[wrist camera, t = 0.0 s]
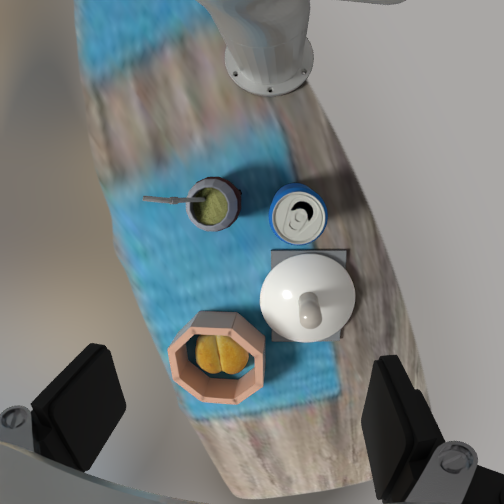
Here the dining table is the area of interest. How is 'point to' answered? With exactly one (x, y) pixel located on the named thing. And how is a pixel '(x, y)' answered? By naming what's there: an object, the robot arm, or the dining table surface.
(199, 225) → the mate gourd
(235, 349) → the bread roll
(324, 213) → the beverage can
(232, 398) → the octagonal ring frame
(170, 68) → the dining table surface
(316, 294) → the lid
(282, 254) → the mat
